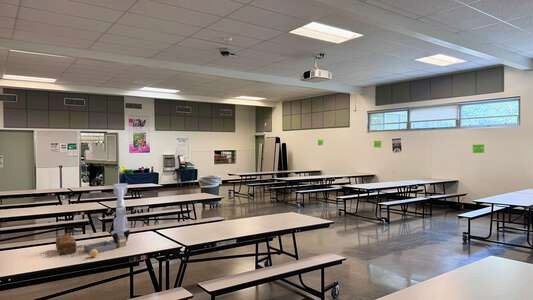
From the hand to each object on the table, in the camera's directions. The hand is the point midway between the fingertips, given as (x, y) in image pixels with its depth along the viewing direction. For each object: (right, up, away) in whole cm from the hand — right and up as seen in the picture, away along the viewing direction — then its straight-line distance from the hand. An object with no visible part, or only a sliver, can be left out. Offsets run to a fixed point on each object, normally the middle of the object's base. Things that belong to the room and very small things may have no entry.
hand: (120, 242), depth 252 cm
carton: (0, -3, 0) cm, 3 cm away
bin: (-11, -3, -8) cm, 14 cm away
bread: (-33, -3, -12) cm, 35 cm away
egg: (-7, -3, -26) cm, 27 cm away
